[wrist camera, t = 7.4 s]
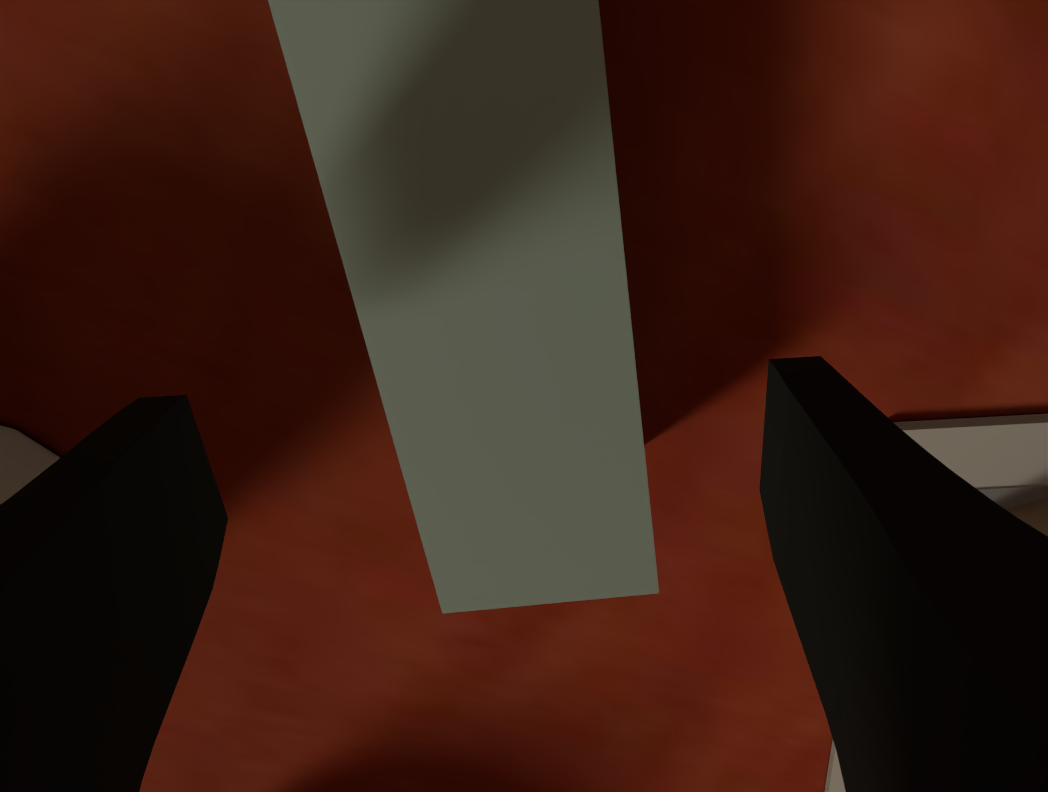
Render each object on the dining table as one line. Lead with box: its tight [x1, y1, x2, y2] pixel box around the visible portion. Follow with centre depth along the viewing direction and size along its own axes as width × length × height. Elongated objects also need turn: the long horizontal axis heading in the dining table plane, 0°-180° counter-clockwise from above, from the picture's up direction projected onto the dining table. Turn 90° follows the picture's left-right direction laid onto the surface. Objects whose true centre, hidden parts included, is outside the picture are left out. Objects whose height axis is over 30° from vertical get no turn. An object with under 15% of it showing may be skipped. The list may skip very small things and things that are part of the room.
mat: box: [825, 414, 1048, 792], centre depth 25 cm, size 8×15×1 cm, turn 5°
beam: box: [268, 0, 659, 613], centre depth 17 cm, size 4×12×4 cm, turn 9°
